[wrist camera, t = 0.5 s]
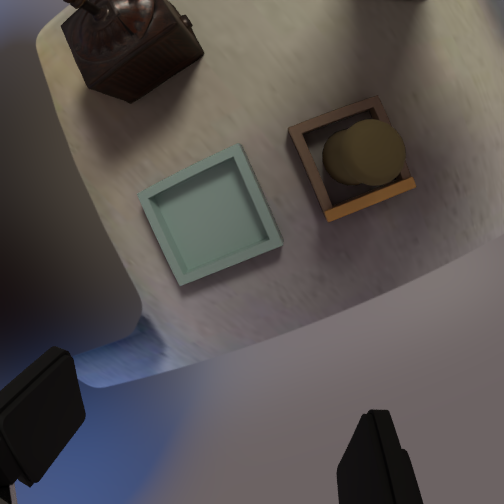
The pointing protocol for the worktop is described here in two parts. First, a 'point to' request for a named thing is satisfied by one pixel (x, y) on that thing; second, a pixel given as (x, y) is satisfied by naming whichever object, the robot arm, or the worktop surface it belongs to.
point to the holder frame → (329, 210)
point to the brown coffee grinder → (129, 44)
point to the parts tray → (211, 215)
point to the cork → (365, 154)
